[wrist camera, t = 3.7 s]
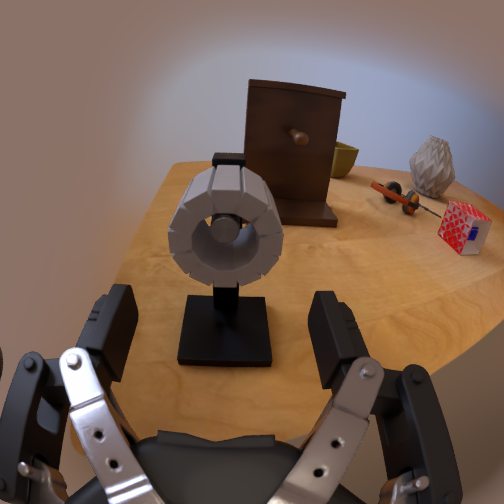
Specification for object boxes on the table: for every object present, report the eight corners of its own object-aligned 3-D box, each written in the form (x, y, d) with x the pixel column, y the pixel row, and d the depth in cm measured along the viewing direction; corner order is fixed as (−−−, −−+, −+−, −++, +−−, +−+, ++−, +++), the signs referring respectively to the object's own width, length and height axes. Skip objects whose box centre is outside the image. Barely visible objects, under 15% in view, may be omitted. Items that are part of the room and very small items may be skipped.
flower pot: (354, 179, 71) (359, 149, 66) (333, 181, 67) (338, 148, 62) (332, 169, 77) (337, 141, 72) (311, 170, 73) (315, 140, 68)
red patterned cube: (457, 234, 48) (469, 203, 44) (478, 254, 42) (492, 221, 38) (437, 234, 47) (449, 200, 43) (459, 255, 41) (474, 219, 36)
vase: (412, 181, 81) (423, 132, 71) (452, 200, 70) (466, 149, 60) (395, 185, 72) (408, 127, 62) (441, 208, 62) (458, 146, 52)
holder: (178, 364, 21) (148, 189, 13) (188, 300, 28) (178, 152, 20) (271, 366, 22) (305, 193, 14) (263, 302, 29) (281, 155, 20)
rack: (241, 223, 43) (251, 77, 31) (240, 199, 52) (248, 80, 39) (336, 227, 45) (361, 93, 32) (320, 203, 53) (338, 91, 41)
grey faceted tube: (174, 286, 17) (163, 189, 13) (185, 246, 21) (180, 164, 17) (276, 288, 18) (289, 192, 14) (268, 248, 22) (277, 166, 18)
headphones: (448, 209, 54) (418, 195, 44) (440, 228, 56) (407, 219, 46) (400, 183, 66) (359, 165, 56) (394, 199, 68) (351, 187, 58)
